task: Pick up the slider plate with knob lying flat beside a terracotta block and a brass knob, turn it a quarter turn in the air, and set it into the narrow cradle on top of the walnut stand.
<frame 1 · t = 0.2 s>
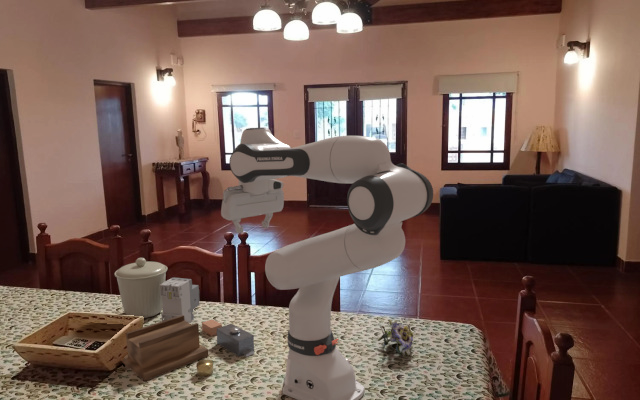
hand: (252, 229, 140), 38 cm above the table, tool pointing down, fingers open, 8 cm apart
circuit breaker: (182, 319, 171), on the table
canister: (144, 313, 176), on the table
brass knob: (205, 373, 134), on the table
slider plate with knob: (235, 347, 150), on the table
stand: (164, 358, 143), on the table
terracotta block: (212, 332, 161), on the table
passion flower: (395, 351, 147), on the table
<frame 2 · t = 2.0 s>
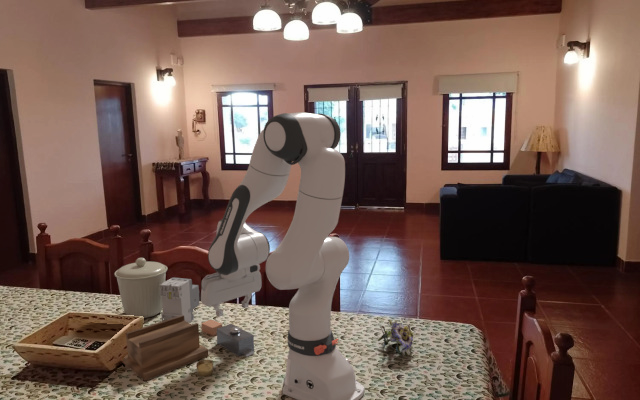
hand: (232, 311, 148), 12 cm above the table, tool pointing down, fingers open, 8 cm apart
nothing on the table moved.
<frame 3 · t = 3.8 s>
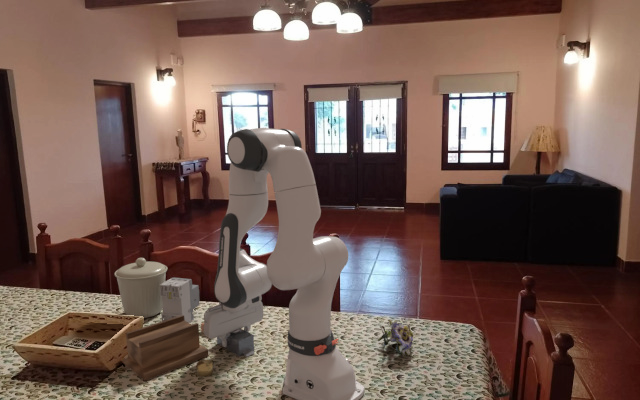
hand: (235, 342, 149), 2 cm above the table, tool pointing down, fingers closed on slider plate with knob, 5 cm apart
slider plate with knob: (235, 346, 150), on the table, touching gripper
everything else where it was.
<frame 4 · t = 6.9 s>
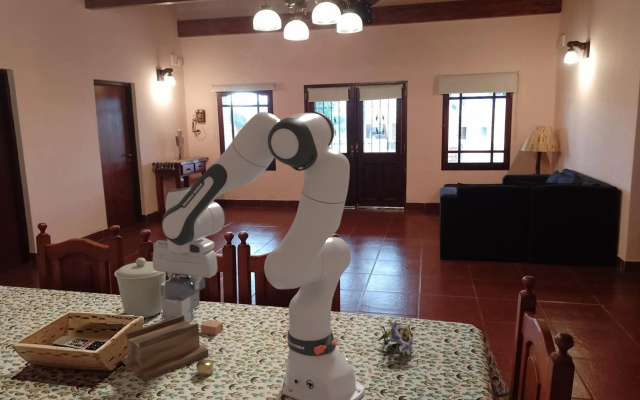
hand: (185, 287, 142), 21 cm above the table, tool pointing down, fingers closed on slider plate with knob, 5 cm apart
slider plate with knob: (186, 292, 142), point 20 cm above the table, touching gripper
everything else where it was.
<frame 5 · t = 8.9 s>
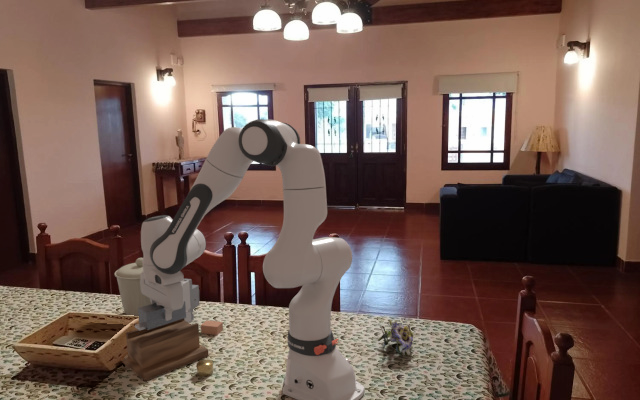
hand: (162, 315, 141), 13 cm above the table, tool pointing down, fingers closed on slider plate with knob, 5 cm apart
slider plate with knob: (163, 320, 141), point 12 cm above the table, touching gripper
everything else where it was.
when the fingers open (11 cm above the table, at t = 10.2 s): slider plate with knob drops 1 cm, resting on stand.
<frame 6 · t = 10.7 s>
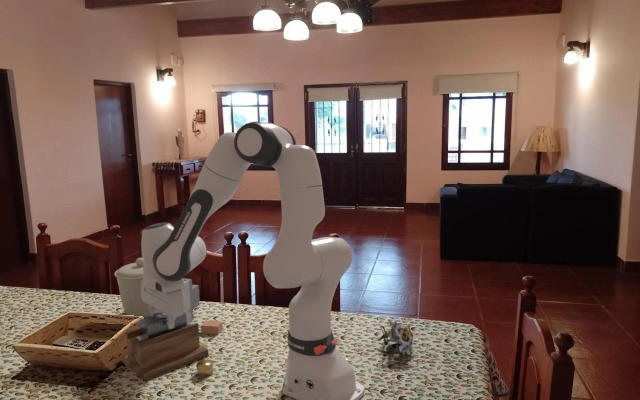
hand: (162, 323, 141), 11 cm above the table, tool pointing down, fingers open, 8 cm apart
slider plate with knob: (164, 332, 142), point 8 cm above the table, touching stand
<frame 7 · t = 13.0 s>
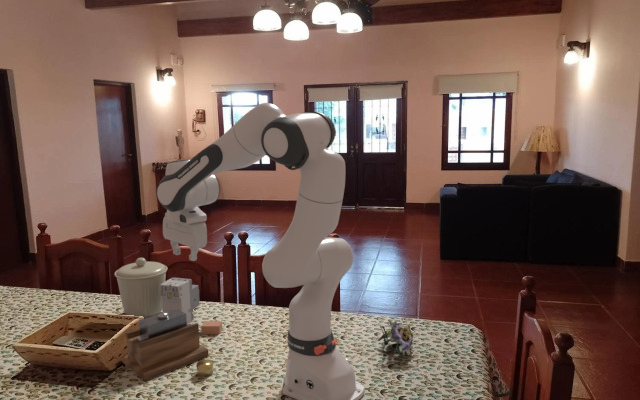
hand: (184, 257, 147), 29 cm above the table, tool pointing down, fingers open, 8 cm apart
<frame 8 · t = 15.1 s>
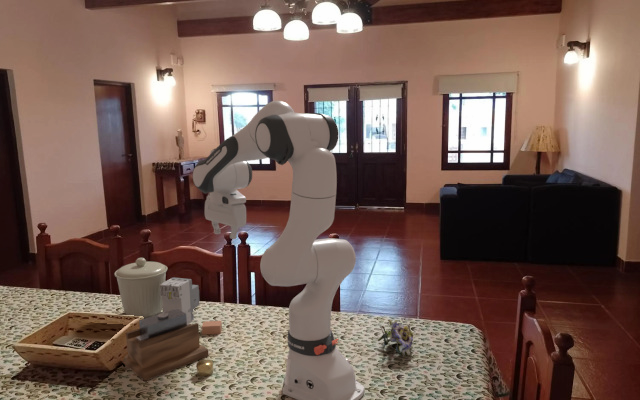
hand: (225, 236, 163), 31 cm above the table, tool pointing down, fingers open, 8 cm apart
at the end: slider plate with knob 0.2 cm off-centre on the stand, point 8.0 cm above the stand's base; slider plate with knob tilted 0°; the gripper is holding nothing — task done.
